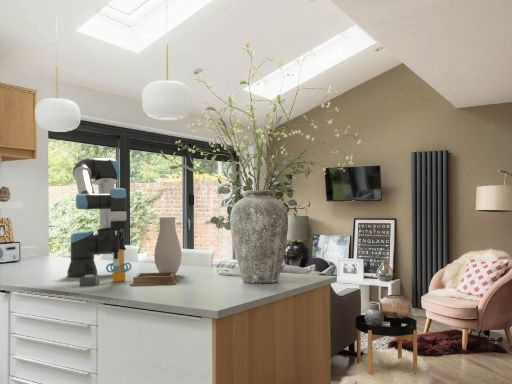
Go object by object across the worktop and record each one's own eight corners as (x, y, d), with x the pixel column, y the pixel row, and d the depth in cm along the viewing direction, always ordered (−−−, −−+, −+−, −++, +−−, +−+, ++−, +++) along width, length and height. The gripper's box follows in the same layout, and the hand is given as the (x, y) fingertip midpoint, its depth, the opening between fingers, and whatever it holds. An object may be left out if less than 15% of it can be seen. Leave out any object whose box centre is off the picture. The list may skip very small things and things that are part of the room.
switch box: (83, 284, 235) (83, 275, 235) (99, 283, 236) (99, 275, 236) (79, 286, 228) (79, 277, 228) (95, 286, 229) (95, 277, 229)
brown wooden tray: (136, 280, 246) (136, 273, 246) (178, 278, 248) (177, 271, 248) (129, 285, 227) (129, 278, 227) (175, 284, 229) (175, 276, 229)
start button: (86, 281, 234) (86, 274, 234) (95, 280, 234) (95, 274, 234) (83, 282, 230) (83, 275, 230) (93, 282, 230) (93, 275, 230)
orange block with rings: (126, 282, 239) (126, 250, 239) (104, 283, 239) (104, 250, 239) (133, 279, 251) (132, 248, 251) (112, 279, 251) (111, 248, 251)
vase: (176, 277, 255) (175, 217, 256) (150, 277, 257) (149, 217, 258) (185, 273, 268) (184, 216, 269) (160, 273, 270) (159, 217, 272)
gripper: (115, 220, 258) (115, 263, 257) (105, 220, 233) (105, 267, 232) (130, 220, 259) (131, 262, 257) (121, 220, 234) (122, 266, 233)
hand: (119, 264), depth 245 cm, fingers open, 13 cm apart
